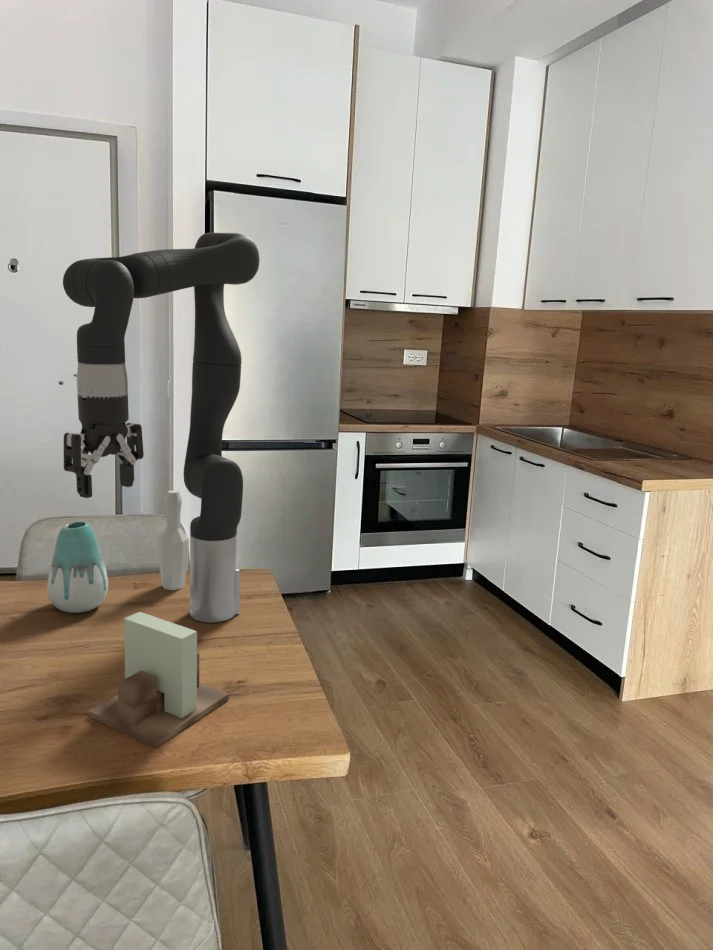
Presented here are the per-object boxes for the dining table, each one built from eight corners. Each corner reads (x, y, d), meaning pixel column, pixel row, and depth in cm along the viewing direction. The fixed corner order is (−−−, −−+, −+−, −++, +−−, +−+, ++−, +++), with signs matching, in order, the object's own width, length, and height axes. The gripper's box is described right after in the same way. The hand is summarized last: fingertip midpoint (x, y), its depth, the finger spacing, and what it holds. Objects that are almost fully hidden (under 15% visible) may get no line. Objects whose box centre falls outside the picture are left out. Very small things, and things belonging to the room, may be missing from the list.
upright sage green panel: (140, 686, 116) (139, 611, 114) (196, 708, 111) (197, 631, 108) (125, 694, 114) (124, 618, 111) (182, 718, 108) (182, 638, 105)
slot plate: (165, 674, 122) (164, 636, 121) (228, 699, 116) (229, 659, 114) (88, 716, 109) (87, 674, 107) (155, 747, 102) (155, 703, 101)
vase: (43, 619, 141) (39, 532, 137) (53, 597, 152) (50, 515, 148) (105, 617, 143) (103, 531, 139) (111, 594, 154) (109, 515, 150)
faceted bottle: (193, 586, 161) (194, 492, 157) (170, 593, 156) (170, 496, 152) (176, 578, 165) (175, 486, 160) (153, 586, 160) (152, 491, 155)
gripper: (120, 386, 120) (123, 479, 124) (48, 393, 108) (54, 497, 112) (153, 390, 117) (155, 486, 121) (83, 398, 105) (87, 505, 108)
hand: (106, 491), depth 116 cm, fingers open, 8 cm apart
